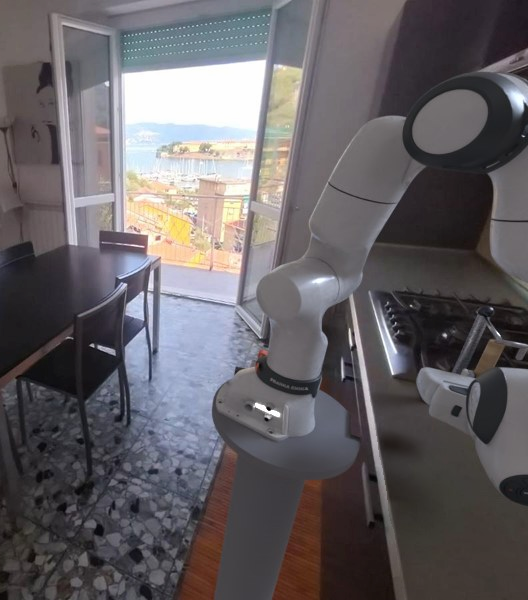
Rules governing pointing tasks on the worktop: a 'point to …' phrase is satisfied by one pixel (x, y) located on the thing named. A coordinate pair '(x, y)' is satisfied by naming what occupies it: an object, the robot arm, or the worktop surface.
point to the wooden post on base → (497, 354)
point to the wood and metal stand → (475, 337)
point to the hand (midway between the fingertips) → (478, 375)
